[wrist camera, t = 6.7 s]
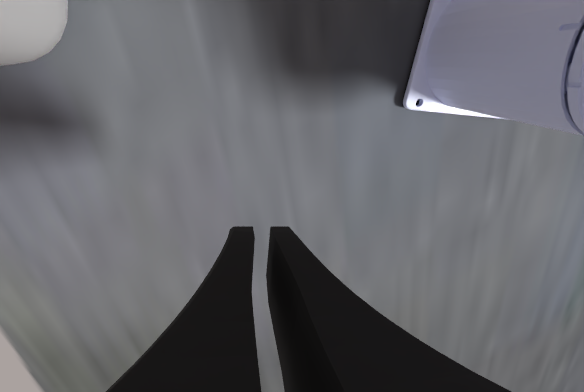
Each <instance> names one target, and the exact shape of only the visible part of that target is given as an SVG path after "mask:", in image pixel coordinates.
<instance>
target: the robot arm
mask: <svg viewBox="0 0 584 392" xmlns="http://www.w3.org/2000/svg"><path fill="white" fill-rule="evenodd" d="M418 99H419V100H420V102H419V104H418V105H417V106H416V101H417V100H418ZM403 106H404V107H405V108H406V109H410V110H418V111H428V112H439V113H449V114H459V115H469V116H479V117H489V118H499V119H509V120H513V121H518V122H523V123H527V124H532V125H536V126H541V127H546V128H550V129H555V130H560V131H564V132H569V133H573V134H578V135H583V136H584V0H430V4H429V8H428V11H427V15H426V19H425V22H424V26H423V30H422V33H421V37H420V41H419V44H418V48H417V52H416V55H415V59H414V63H413V66H412V70H411V74H410V78H409V81H408V85H407V89H406V92H405V96H404V100H403ZM254 240H255V237H254V231H253V227H233V228H231V229H230V231H229V235H228V238H227V240H226V243H225V245H224V247H223V249H222V251H221V253H220V255H219V256H218V258H217V260H216V262H215V263H214V265H213V267H212V268H211V270H210V272H209V273H208V275H207V276H206V278H205V279H204V281H203V282H202V284H201V285H200V287H199V288H198V290H197V291H196V292H195V294H194V295H193V296H192V298H191V299H190V301H189V302H188V303H187V304H186V306H185V307H184V308H183V310H182V311H181V312H180V313H179V314H178V316H177V317H176V318H175V319H174V321H173V322H172V323H171V324H170V325H169V326H168V328H167V329H166V330H165V331H164V332H163V333H162V334H161V335H160V337H159V338H158V339H157V340H156V341H155V342H154V343H153V344H152V346H151V347H150V348H149V349H148V350H147V351H146V352H145V353H144V354H143V355H142V356H141V357H140V358H139V359H138V360H137V361H136V362H135V364H134V365H133V366H131V367H130V368H129V369H128V370H127V371H126V372H125V373H124V374H123V375H122V376H121V377H120V378H119V379H118V380H117V381H116V382H115V383H114V384H113V385H112V386H111V387H110V388H109V389H108V390H107V391H106V392H261V386H260V376H259V367H258V358H257V348H256V338H255V328H254V317H253V305H252V272H253V256H254ZM266 278H267V291H268V303H269V308H270V314H271V319H272V324H273V329H274V334H275V340H276V345H277V350H278V355H279V360H280V365H281V370H282V376H283V383H284V389H285V392H511V391H509V390H507V389H505V388H503V387H501V386H499V385H498V384H496V383H494V382H492V381H490V380H488V379H486V378H484V377H482V376H480V375H478V374H476V373H474V372H473V371H471V370H469V369H467V368H465V367H464V366H462V365H460V364H459V363H457V362H455V361H453V360H452V359H450V358H448V357H447V356H445V355H443V354H441V353H440V352H438V351H436V350H435V349H433V348H431V347H430V346H428V345H427V344H425V343H423V342H422V341H420V340H419V339H417V338H415V337H414V336H412V335H411V334H409V333H408V332H406V331H405V330H403V329H402V328H400V327H399V326H397V325H396V324H395V323H393V322H392V321H390V320H389V319H387V318H386V317H384V316H383V315H382V314H380V313H379V312H378V311H376V310H375V309H374V308H372V307H371V306H370V305H369V304H367V303H366V302H365V301H363V300H362V299H361V298H360V297H358V296H357V295H356V294H355V293H353V292H352V291H351V290H350V289H349V288H348V287H346V286H345V285H344V284H343V283H342V282H341V281H340V280H339V279H338V278H337V277H335V276H334V275H333V274H332V273H331V272H330V271H329V270H328V269H327V268H326V267H325V266H324V265H323V264H322V263H321V262H320V261H319V260H318V259H317V258H316V257H315V256H314V255H313V253H312V252H311V251H310V250H309V249H308V248H307V247H306V246H305V245H304V243H303V242H302V241H301V240H300V239H299V238H298V236H297V235H296V234H295V233H294V232H293V231H292V230H291V229H290V227H271V228H270V239H269V250H268V262H267V273H266Z"/></svg>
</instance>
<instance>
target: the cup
mask: <svg viewBox="0 0 584 392" xmlns="http://www.w3.org/2000/svg"><path fill="white" fill-rule="evenodd" d="M67 13H68V0H0V66H5V65H13V64H19V63H25V62H30V61H34V60H36V59H38V58H40V57H42V56H44V55H46V54H47V53H49V52H50V51H51V50H52V49H53V48H54V46H55V45H56V44H57V43H58V42H59V41H60V39H61V37H62V34H63V32H64V29H65V26H66V23H67Z"/></svg>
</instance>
